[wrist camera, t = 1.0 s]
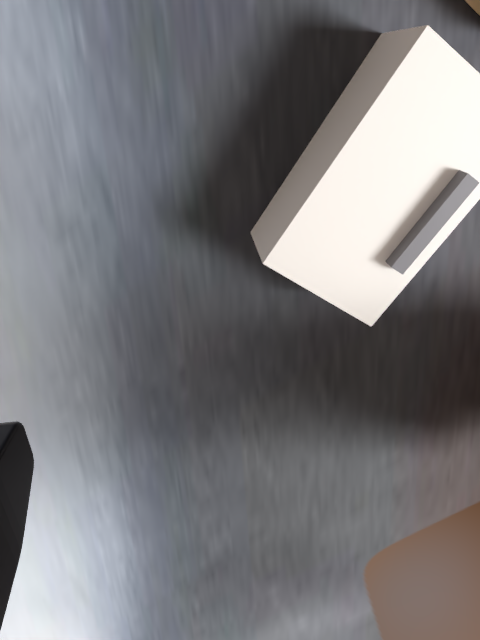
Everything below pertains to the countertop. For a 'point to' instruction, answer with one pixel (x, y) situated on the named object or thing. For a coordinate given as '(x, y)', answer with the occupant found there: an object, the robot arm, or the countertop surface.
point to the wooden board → (474, 5)
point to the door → (380, 177)
